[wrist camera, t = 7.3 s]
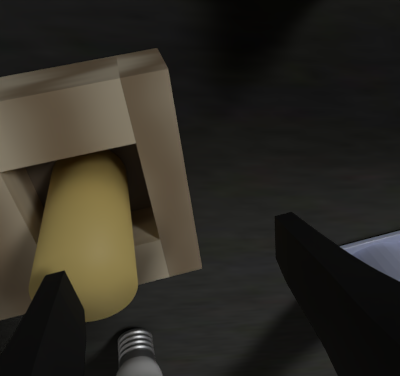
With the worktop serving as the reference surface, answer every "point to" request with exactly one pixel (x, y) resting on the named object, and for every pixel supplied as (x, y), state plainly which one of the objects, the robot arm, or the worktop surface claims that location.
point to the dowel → (89, 233)
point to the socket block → (88, 143)
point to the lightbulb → (137, 354)
